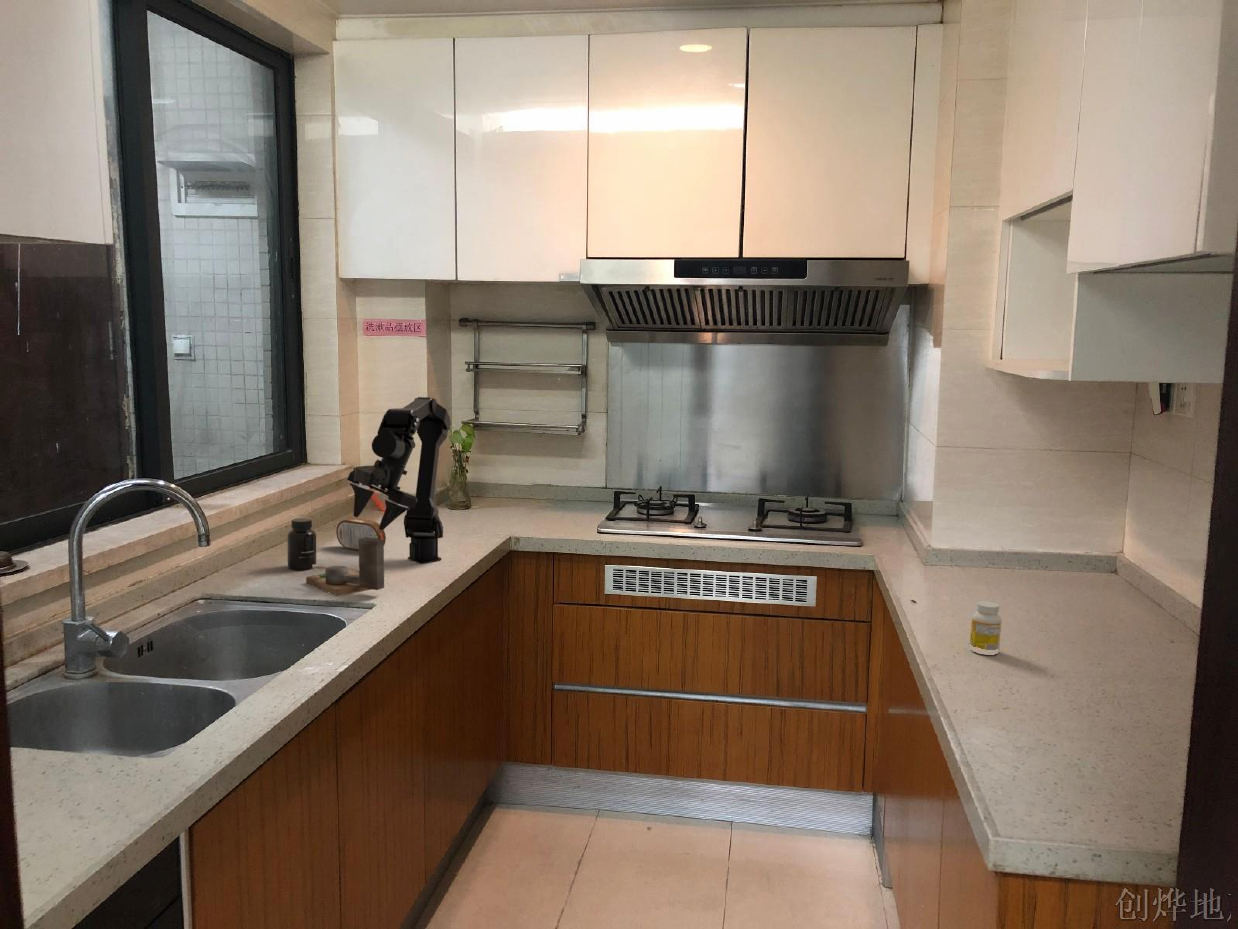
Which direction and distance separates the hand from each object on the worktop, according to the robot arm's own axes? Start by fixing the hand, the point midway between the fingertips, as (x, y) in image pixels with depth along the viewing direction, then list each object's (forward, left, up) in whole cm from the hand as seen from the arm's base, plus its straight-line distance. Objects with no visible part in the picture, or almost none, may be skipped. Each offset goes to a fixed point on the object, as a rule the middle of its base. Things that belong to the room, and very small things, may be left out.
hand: (367, 523), depth 218 cm
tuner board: (+5, -2, -14) cm, 15 cm away
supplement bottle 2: (-65, +119, -14) cm, 137 cm away
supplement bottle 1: (+5, -23, -14) cm, 27 cm away
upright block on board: (+7, +3, -12) cm, 15 cm away
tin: (-15, -30, -14) cm, 36 cm away
